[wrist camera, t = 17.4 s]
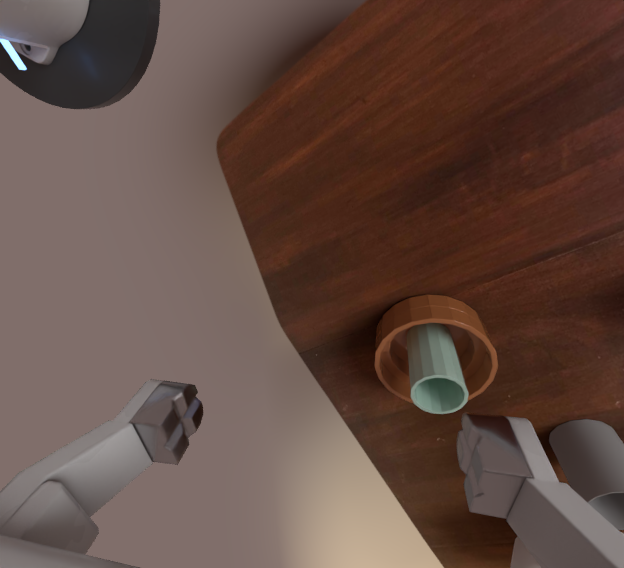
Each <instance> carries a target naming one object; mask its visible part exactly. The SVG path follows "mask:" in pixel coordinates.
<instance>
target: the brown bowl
mask: <svg viewBox="0 0 624 568" xmlns="http://www.w3.org/2000/svg"><path fill="white" fill-rule="evenodd" d="M426 323H440V324H442V325H444V326H446V327H447V328H448V329H449V330H450V332H451V334H452V337H453V340H454V344H455V347H456V351H457V354H458V358H459V361H460V365H461V368H462V372H463V375H464V379H465V382H466V386H467V389H468V393H469V395H468V401H469V400H470V399H472V398H474V397H475V396H477V395H479V394H480V393H482V392H483V391H484V390H485V389H486V388H487V387H488V386H489V384H490V383H491V382H492V381H493V380H494V377H495V374H496V371H497V368H498V362H497V354H496V350H495V348H494V346H493V343H492V341H491V339H490V337H489V334H488V332H487V330H486V328H485V326H484V323H483V322H482V320H481V319H480V317H479V316H478V314H477V312H476V311H474V310H473V309H472V308H470V307H469V306H468V305H466V304H465V303H464V302H462V301H459V300H456V299H453V298H450V297H447V296H441V295H422V296H417V297H411V298H408V299H406V300H404V301H402V302H400V303H397V304H395V305H394V306H393V307H392V308H390V309H389V310H388V311H387V312H386V313H385V314H384V315H383V316H382V318H381V320H380V322H379V324H378V326H377V330H376V344H375V364H374V366H375V369H376V372H377V375H378V378H379V380H380V381H381V382H382V383H383V384H384V386H385V387H386V388H387V389H388V390H389V391H391V392H392V393H393V394H395V395H396V396H398V397H399V398H401V399H403V400H406V401H409V402H412V403H414V402H413V400H412V399H411V396H410V384H409V372H408V359H407V347H406V336H407V333H408V331H409V330H410V329H411V328H412V327H413V326H414V325H420V324H426Z"/></svg>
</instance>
